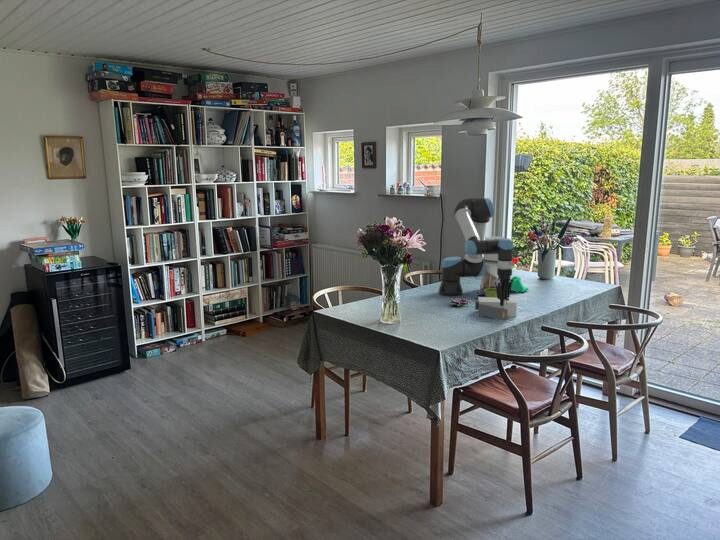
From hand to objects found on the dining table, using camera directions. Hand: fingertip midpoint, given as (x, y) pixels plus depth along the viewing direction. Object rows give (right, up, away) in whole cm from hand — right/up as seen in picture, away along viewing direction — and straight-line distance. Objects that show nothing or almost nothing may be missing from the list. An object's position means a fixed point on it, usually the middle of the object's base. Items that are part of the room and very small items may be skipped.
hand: (502, 311), depth 289 cm
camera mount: (+26, +8, +63) cm, 69 cm away
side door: (-5, -4, +3) cm, 7 cm away
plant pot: (+2, +1, +32) cm, 32 cm away
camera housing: (0, -2, +13) cm, 13 cm away
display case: (+8, +8, +62) cm, 63 cm away
